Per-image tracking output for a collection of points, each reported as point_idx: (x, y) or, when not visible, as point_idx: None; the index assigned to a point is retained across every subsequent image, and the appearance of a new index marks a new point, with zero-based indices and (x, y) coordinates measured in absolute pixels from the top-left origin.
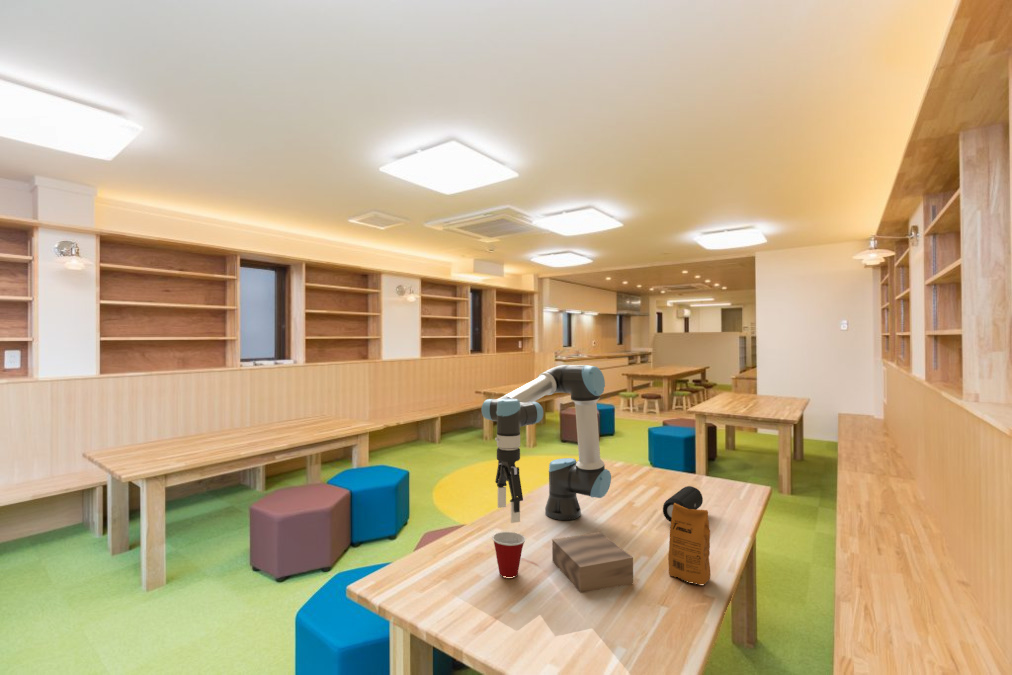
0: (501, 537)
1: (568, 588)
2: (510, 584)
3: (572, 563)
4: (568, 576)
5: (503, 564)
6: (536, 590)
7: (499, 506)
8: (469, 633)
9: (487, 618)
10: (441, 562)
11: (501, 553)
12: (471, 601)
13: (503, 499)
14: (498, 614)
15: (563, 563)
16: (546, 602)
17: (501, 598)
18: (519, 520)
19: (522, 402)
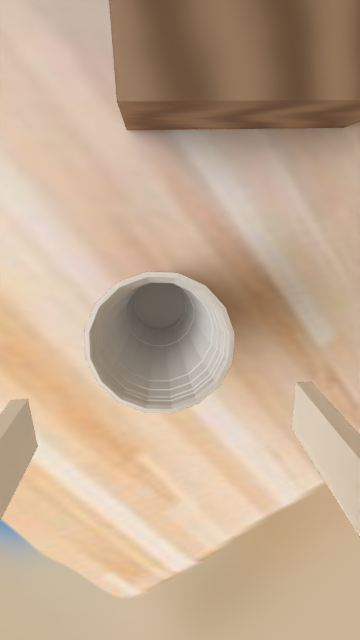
0: (103, 355)
1: (297, 150)
2: None
3: (328, 105)
4: (265, 124)
5: (188, 342)
6: (268, 253)
7: (34, 445)
8: None
9: (326, 395)
10: (44, 457)
11: (192, 365)
12: (252, 415)
13: (7, 454)
14: (323, 372)
15: (231, 117)
16: (332, 248)
17: (267, 351)
18: (314, 389)
19: None
